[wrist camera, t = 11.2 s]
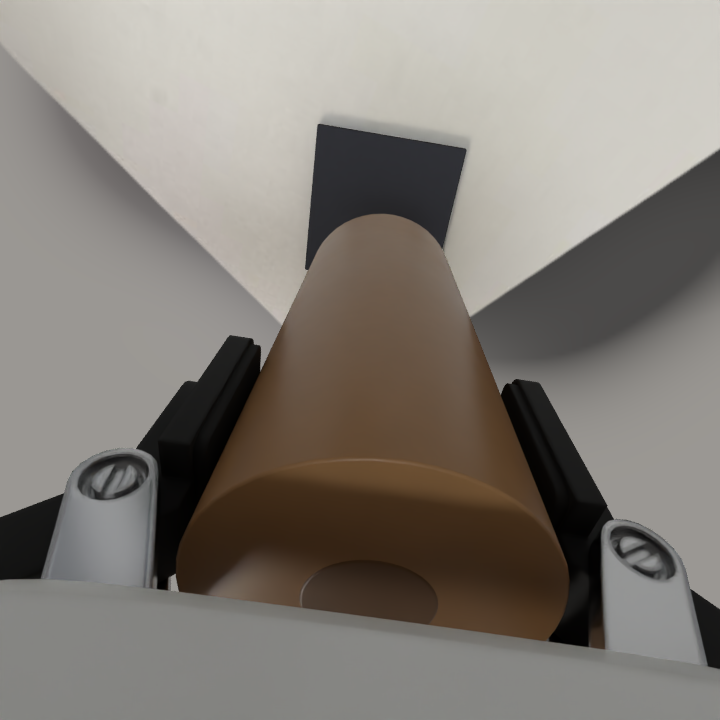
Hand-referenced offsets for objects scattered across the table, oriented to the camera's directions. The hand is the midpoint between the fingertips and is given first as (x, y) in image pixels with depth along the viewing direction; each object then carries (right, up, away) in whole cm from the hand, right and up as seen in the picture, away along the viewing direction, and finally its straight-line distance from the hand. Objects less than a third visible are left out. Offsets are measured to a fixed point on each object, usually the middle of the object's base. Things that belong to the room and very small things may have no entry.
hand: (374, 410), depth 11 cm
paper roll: (0, +4, +8) cm, 9 cm away
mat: (+1, +12, +21) cm, 24 cm away
